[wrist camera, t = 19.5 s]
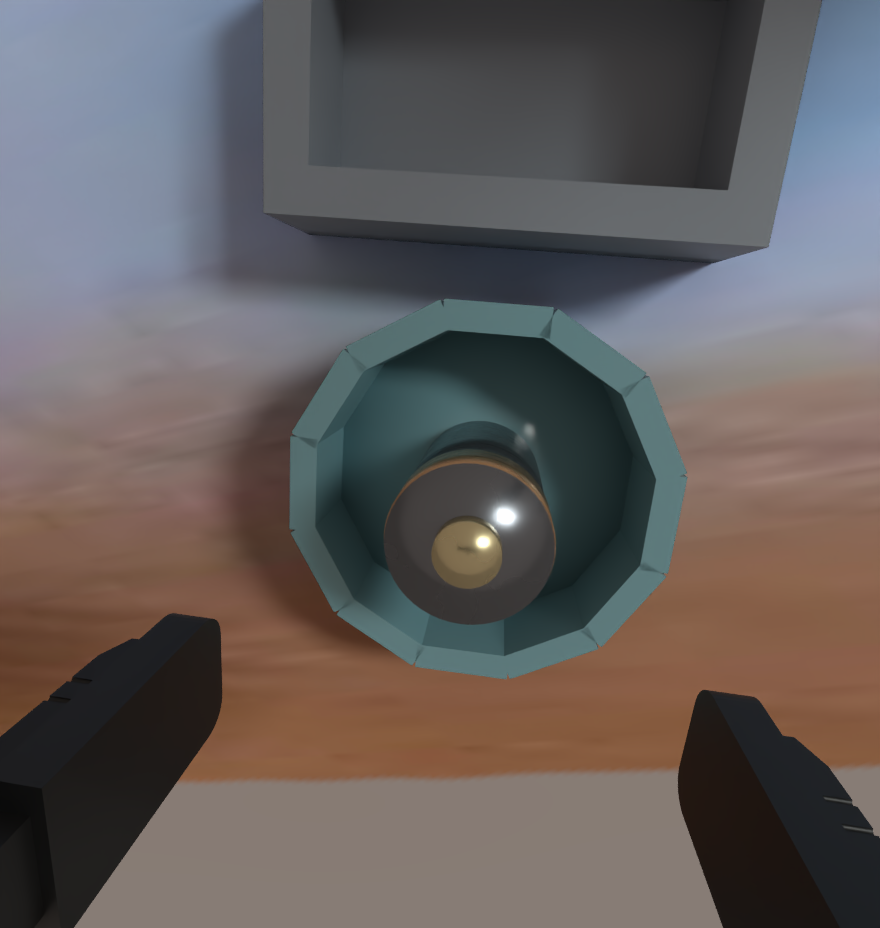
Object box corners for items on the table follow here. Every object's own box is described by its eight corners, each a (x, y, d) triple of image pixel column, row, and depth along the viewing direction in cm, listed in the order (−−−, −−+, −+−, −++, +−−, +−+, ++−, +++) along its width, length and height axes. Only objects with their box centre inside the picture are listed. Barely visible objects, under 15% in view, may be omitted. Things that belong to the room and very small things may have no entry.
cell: (422, 414, 23) (380, 460, 15) (546, 424, 22) (569, 477, 15) (416, 529, 24) (374, 626, 16) (533, 541, 24) (547, 647, 16)
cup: (331, 293, 23) (292, 286, 19) (675, 321, 22) (719, 320, 17) (323, 596, 26) (288, 649, 22) (618, 634, 25) (642, 697, 21)
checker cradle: (314, -44, 20) (262, -146, 16) (770, -32, 19) (852, -140, 14) (309, 234, 22) (263, 212, 18) (713, 262, 21) (768, 246, 17)
